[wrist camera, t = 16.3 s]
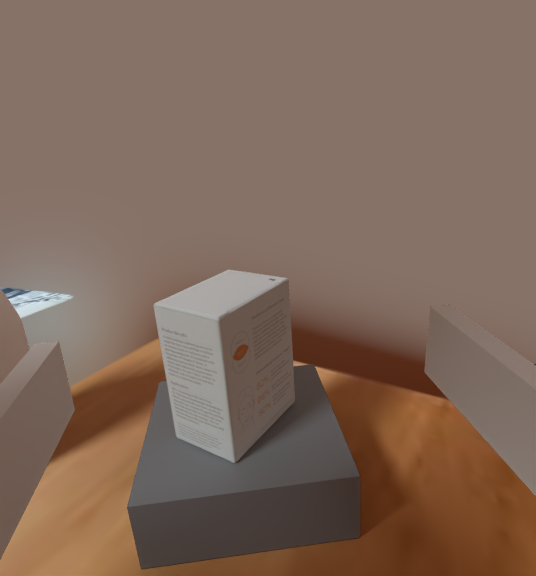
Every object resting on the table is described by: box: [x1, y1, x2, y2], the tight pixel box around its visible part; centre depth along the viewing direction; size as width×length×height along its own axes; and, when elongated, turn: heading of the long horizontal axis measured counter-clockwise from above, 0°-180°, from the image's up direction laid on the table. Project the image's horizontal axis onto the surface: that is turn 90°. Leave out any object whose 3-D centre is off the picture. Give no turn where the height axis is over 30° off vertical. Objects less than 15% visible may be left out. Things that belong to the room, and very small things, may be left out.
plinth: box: [127, 364, 360, 569], centre depth 33 cm, size 14×14×5 cm
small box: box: [154, 270, 295, 463], centre depth 31 cm, size 8×6×10 cm
